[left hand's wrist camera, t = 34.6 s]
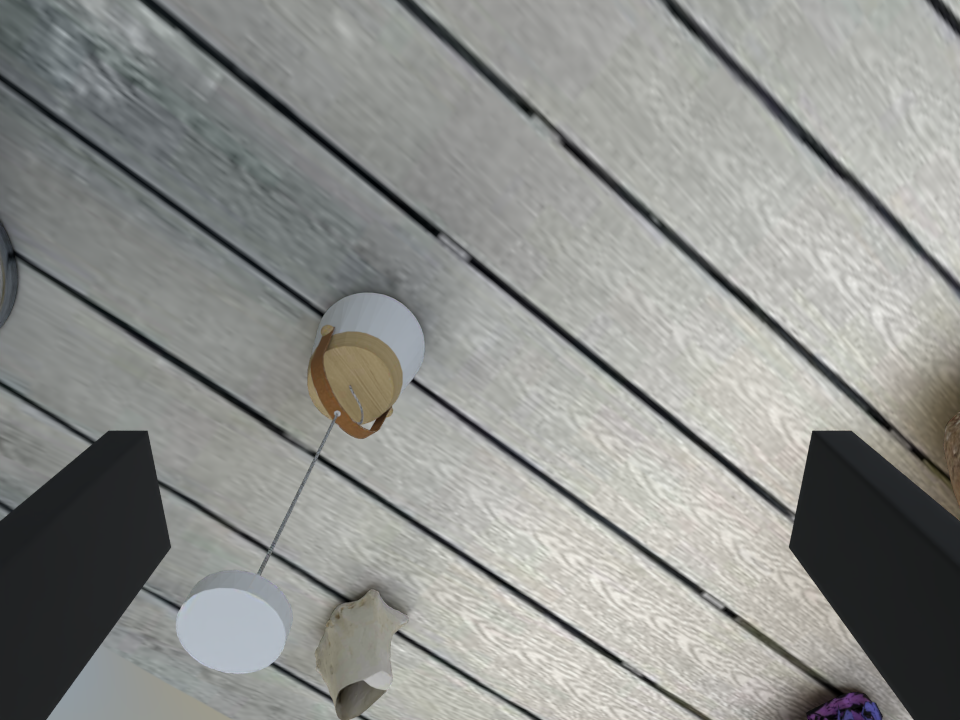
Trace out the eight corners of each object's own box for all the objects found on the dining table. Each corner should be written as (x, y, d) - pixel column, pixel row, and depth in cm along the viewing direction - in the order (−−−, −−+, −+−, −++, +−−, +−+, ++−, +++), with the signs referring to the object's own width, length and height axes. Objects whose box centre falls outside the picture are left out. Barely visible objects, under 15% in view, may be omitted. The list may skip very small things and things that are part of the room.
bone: (376, 567, 59) (331, 609, 50) (433, 628, 58) (398, 683, 49) (314, 631, 61) (258, 684, 51) (368, 691, 60) (322, 757, 50)
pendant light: (446, 357, 50) (402, 663, 22) (359, 407, 51) (214, 754, 23) (386, 269, 47) (250, 484, 19) (297, 324, 49) (51, 599, 21)
